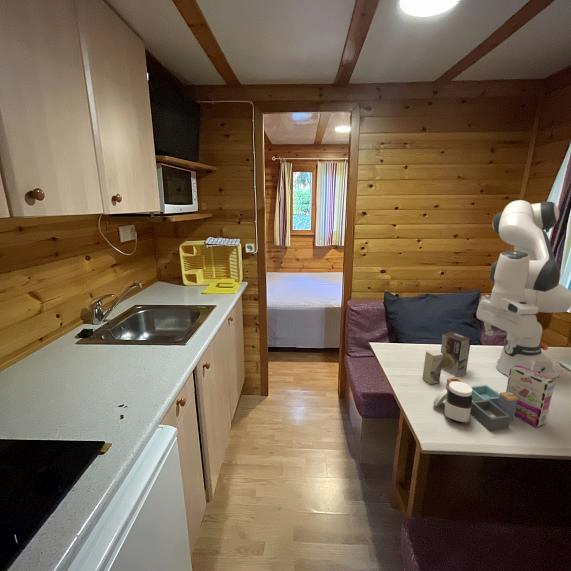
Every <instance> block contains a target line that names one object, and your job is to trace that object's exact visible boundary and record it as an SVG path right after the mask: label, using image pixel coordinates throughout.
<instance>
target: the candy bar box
mask: <svg viewBox="0 0 571 571" xmlns="http://www.w3.org/2000/svg"><path fill="white" fill-rule="evenodd" d="M555 384H556V379H551V378H549V377H546V376H544V375H542V374H539V373H537V372H534V371H532V370H530V369H527V368H525V367H523V366H520V365H517V366H515V367H511V368H510V373H509V376H508V380H507V385H506V389H505V390H506V391H505V392H511V393H513V394H514V395H515V396H516V397H518V401H517V406H516V411H515V415H514V417H515V416H516V417H517V418H519V419H521V420H522V421H524V422H526V423H527V424H530V425H531V426H533V427H535V428H540V427H541V426H544V425H546V422H547V417H548V414H549V410H550V405H551V400H552V396H553V391H554V388H555Z"/></svg>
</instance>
